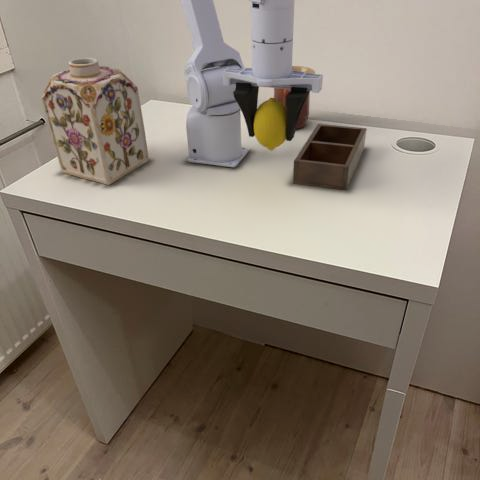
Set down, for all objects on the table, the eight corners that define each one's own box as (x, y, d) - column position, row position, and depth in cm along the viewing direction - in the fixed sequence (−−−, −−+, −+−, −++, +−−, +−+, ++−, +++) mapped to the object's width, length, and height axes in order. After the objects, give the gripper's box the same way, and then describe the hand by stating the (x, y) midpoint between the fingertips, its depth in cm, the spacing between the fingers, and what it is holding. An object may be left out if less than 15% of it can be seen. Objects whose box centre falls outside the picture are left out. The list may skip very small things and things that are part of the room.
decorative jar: (60, 173, 91) (29, 65, 79) (103, 150, 98) (81, 48, 87) (110, 187, 86) (85, 74, 74) (151, 161, 94) (135, 55, 82)
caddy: (292, 183, 85) (293, 160, 83) (316, 144, 97) (318, 123, 95) (346, 190, 83) (349, 167, 80) (363, 149, 95) (366, 128, 92)
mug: (273, 116, 110) (273, 65, 103) (313, 117, 108) (316, 66, 101) (264, 137, 101) (264, 83, 94) (307, 139, 99) (311, 84, 93)
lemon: (252, 144, 82) (251, 93, 76) (286, 142, 82) (287, 91, 77) (255, 158, 77) (255, 105, 72) (291, 156, 78) (293, 103, 72)
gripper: (212, 43, 68) (218, 141, 77) (317, 48, 64) (310, 151, 73) (231, 31, 73) (234, 124, 82) (329, 36, 69) (321, 134, 78)
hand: (271, 136), depth 78 cm, fingers closed on lemon, 5 cm apart
